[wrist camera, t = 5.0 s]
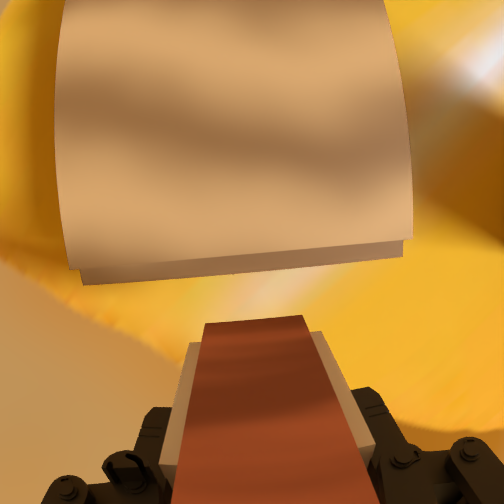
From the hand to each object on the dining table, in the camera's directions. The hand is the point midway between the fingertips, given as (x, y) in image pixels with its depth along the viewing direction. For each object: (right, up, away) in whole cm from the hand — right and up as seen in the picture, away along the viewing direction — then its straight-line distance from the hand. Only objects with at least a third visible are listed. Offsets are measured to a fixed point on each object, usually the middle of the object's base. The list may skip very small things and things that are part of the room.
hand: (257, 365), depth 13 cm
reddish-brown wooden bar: (0, 0, 0) cm, 0 cm away
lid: (-2, +17, +1) cm, 17 cm away
